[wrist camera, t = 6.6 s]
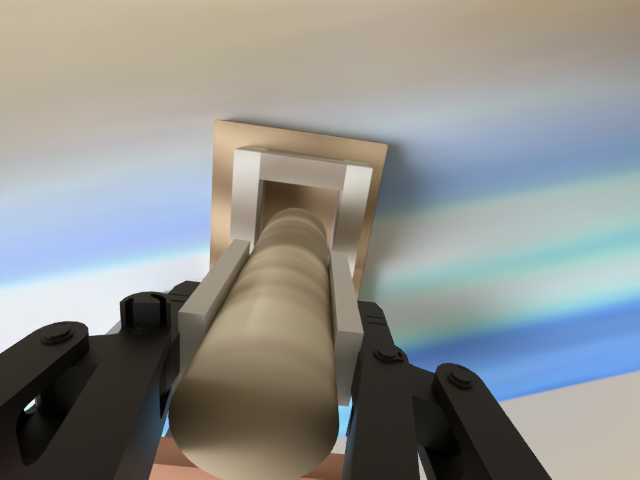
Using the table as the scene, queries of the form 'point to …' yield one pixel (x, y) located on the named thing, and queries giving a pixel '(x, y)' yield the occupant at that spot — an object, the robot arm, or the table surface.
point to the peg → (266, 364)
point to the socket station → (274, 196)
